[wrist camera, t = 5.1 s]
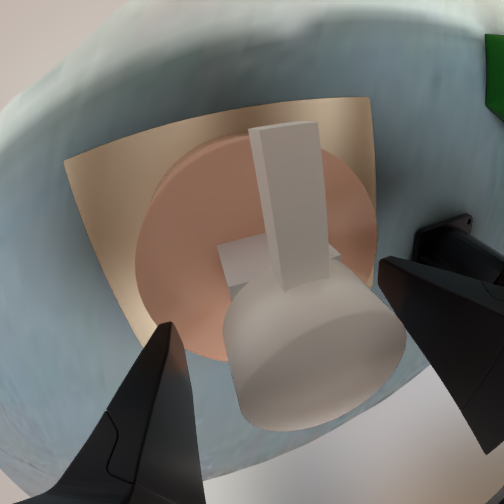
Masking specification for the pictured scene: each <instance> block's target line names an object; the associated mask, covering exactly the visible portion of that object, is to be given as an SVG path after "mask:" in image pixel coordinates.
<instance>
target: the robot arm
mask: <svg viewBox="0 0 504 504" xmlns="http://www.w3.org/2000/svg"><path fill="white" fill-rule="evenodd" d="M472 219H473V218H472V216H471V215H469V214H464V215H462V216H459V217H456V218H453V219H450V220H447V221H444V222H441V223H438V224H435V225H432V226H429V227H426V228H423V229H421V230H419V231H418V232H417V234H416V238H415V247H414V255H413V262H412V261H408V260H404V259H401V258H397V257H393V256H389V257H386V258H383V259H381V260H380V262H379V269H378V285H379V287H380V289H381V290H382V292H383V294H384V295H385V297H386V299H387V300H388V302H389V304H390V305H391V307H392V309H393V310H394V312H395V314H396V315H397V317H398V318H399V320H400V321H401V322H402V324H403V325H404V327H405V328H406V330H407V331H408V333H409V334H410V335H411V337H412V338H413V340H414V341H415V342H416V344H417V345H418V347H419V348H420V349H421V351H422V352H423V354H424V355H425V357H426V358H427V360H428V361H429V362H430V364H431V365H432V367H433V368H434V370H435V371H436V373H437V374H438V376H439V377H440V379H441V380H442V382H443V383H444V385H445V387H446V388H447V390H448V391H449V393H450V394H451V396H452V397H453V399H454V401H455V402H456V404H457V406H458V407H459V409H460V410H461V413H462V414H463V416H464V418H465V419H466V421H467V423H468V425H469V426H470V428H471V430H472V431H473V433H474V435H475V437H476V439H477V441H478V442H479V444H480V446H481V448H482V450H483V452H484V453H485V454H486V455H487V454H489V453H490V452H491V451H492V450H494V449H495V448H496V447H497V446H498V445H500V444H501V443H502V442H503V441H504V256H503V255H502V254H500V253H498V252H497V251H495V250H494V249H492V248H491V247H489V246H488V245H486V244H484V243H483V242H481V241H479V240H478V239H476V238H475V237H473V236H471V235H470V233H471V227H472ZM14 504H206V500H205V494H204V488H203V481H202V475H201V467H200V460H199V452H198V444H197V435H196V425H195V415H194V404H193V394H192V387H191V382H190V377H189V372H188V367H187V361H186V356H185V350H184V346H183V342H182V340H181V338H180V335H179V333H178V331H177V329H176V327H175V325H174V323H173V322H172V321H169V322H165V323H161V324H159V325H158V326H157V328H156V329H155V331H154V332H153V334H152V335H151V337H150V339H149V340H148V342H147V343H146V345H145V347H144V348H143V350H142V351H141V353H140V354H139V356H138V358H137V359H136V361H135V362H134V364H133V366H132V367H131V369H130V371H129V372H128V374H127V375H126V377H125V379H124V380H123V382H122V384H121V385H120V387H119V389H118V390H117V392H116V394H115V395H114V397H113V399H112V400H111V402H110V404H109V405H108V407H107V411H105V412H104V414H103V415H102V417H101V419H100V421H99V422H98V424H97V425H96V427H95V429H94V430H93V432H92V434H91V435H90V437H89V438H88V440H87V441H86V443H85V444H84V446H83V447H82V449H81V450H80V451H79V453H78V454H77V456H76V457H75V458H74V460H73V461H72V463H71V464H70V465H69V467H68V468H67V470H66V471H65V473H64V474H63V475H62V477H61V478H60V480H59V481H58V482H57V483H56V484H55V485H54V486H53V487H52V488H51V489H50V490H48V491H46V492H45V493H43V494H40V495H37V496H35V497H32V498H29V499H26V500H23V501H20V502H17V503H14ZM486 504H504V486H503V487H502V488H501V489H500V490H499V491H498V492H497V493H496V494H495V495H494V496H493V497H492V498H491V499H490V500H489V501H488V502H487V503H486Z"/></svg>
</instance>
